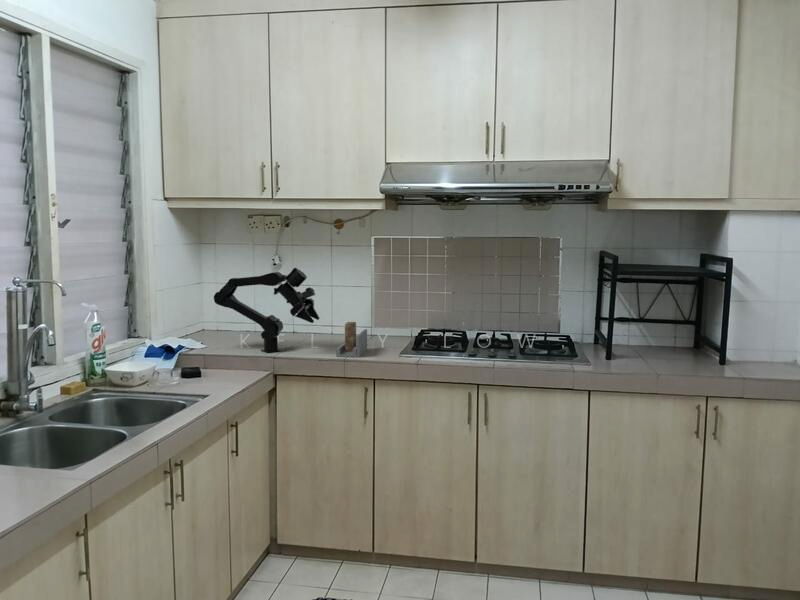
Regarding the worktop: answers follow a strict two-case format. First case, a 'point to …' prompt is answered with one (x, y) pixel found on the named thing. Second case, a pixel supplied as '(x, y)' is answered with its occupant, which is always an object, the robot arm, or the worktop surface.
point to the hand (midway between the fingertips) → (316, 320)
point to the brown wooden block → (350, 336)
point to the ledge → (357, 349)
